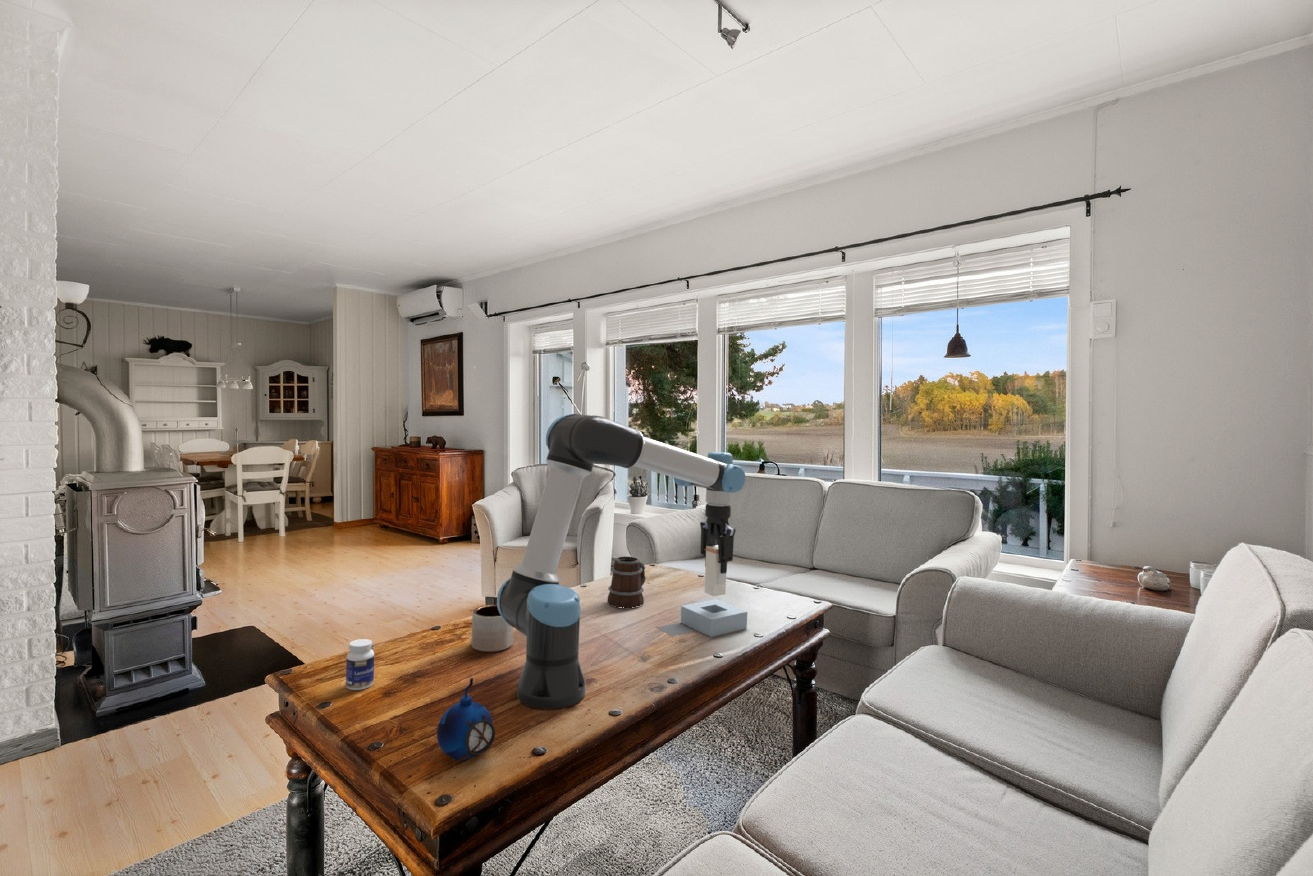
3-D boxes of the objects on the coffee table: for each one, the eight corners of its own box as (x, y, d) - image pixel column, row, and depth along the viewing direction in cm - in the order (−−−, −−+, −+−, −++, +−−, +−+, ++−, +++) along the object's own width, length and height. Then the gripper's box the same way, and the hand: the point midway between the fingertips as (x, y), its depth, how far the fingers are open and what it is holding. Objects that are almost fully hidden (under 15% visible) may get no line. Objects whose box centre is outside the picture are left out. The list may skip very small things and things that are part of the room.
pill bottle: (355, 693, 136) (356, 649, 136) (340, 686, 139) (341, 643, 139) (379, 684, 141) (379, 641, 141) (364, 677, 144) (364, 635, 144)
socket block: (710, 640, 176) (711, 619, 176) (680, 625, 187) (681, 605, 187) (746, 631, 184) (747, 611, 184) (715, 617, 195) (716, 599, 195)
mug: (629, 611, 199) (630, 565, 198) (600, 603, 206) (601, 558, 205) (657, 600, 211) (658, 556, 211) (629, 593, 218) (631, 551, 218)
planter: (521, 646, 167) (521, 611, 166) (485, 656, 159) (486, 620, 158) (498, 635, 174) (499, 601, 174) (463, 644, 166) (464, 609, 166)
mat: (672, 639, 175) (672, 636, 175) (656, 630, 182) (656, 627, 182) (694, 634, 180) (694, 631, 180) (677, 626, 187) (678, 622, 187)
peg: (714, 596, 182) (715, 549, 181) (704, 592, 186) (706, 546, 185) (725, 594, 185) (727, 547, 184) (715, 590, 188) (717, 545, 188)
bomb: (457, 781, 106) (459, 695, 105) (426, 755, 113) (428, 675, 113) (506, 758, 113) (508, 678, 113) (473, 736, 121) (475, 660, 120)
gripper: (748, 507, 179) (744, 587, 180) (708, 499, 193) (706, 573, 194) (728, 509, 175) (725, 590, 176) (690, 500, 189) (687, 576, 190)
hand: (715, 581), depth 185 cm, fingers closed on peg, 4 cm apart
